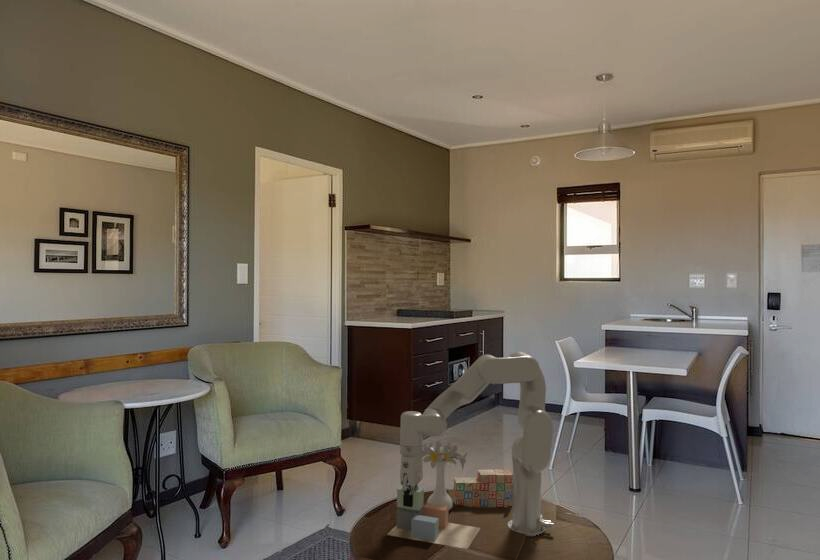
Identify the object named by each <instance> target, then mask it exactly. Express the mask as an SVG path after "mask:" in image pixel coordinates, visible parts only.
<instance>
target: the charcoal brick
mask: <svg viewBox="0 0 820 560" xmlns="http://www.w3.org/2000/svg"><path fill="white" fill-rule="evenodd" d="M415 515H422V516H423V508H421V509H420V510H413V509H407V508H401V507H398V508H397V509H396V525H397V528H399V529H405V530H411V519H412V518H413V517H414V516H415Z"/></svg>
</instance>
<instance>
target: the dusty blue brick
mask: <svg viewBox="0 0 820 560" xmlns="http://www.w3.org/2000/svg"><path fill="white" fill-rule="evenodd" d="M438 537H439V518H434V517H428V516H422V515H415V516H414V517H413V518H412V519H411V538H416V539H422V540H428V541H433V542H435V541H436V539H437V538H438Z"/></svg>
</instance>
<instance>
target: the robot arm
mask: <svg viewBox="0 0 820 560" xmlns="http://www.w3.org/2000/svg"><path fill="white" fill-rule="evenodd" d="M543 373H544V372H543V371H542V370H541V368H540V365H539V362H538V360H537V359H536V358H535V357H533V356H531V355H530V354H528V353H525V352H523V351H515V352H513V353H511V354H510V355H509V356H508V357H496V356H493V355H491V354H483V355H480V356H479V357H478V358H477V359H476V360H475V361H474V362H473V363H472V364H471V366H469V368H467V370H466V371H465V372H464V373H463V374H462V375H461V376H459V378H458V379H457V380H456V381H455V382H454V383H453V384H452V385H450V386H449V387H448V388H447V389H445V390H444V391H443V392H442V393H440V394H439V395H438V396H437V397H436V398H435V399H434V400H433V401H432V402H431V403H430V404H429V405H428V406H427V408H425V409H424V411H423V413H421V412H419V411H414V410H409V411H403V412H402V413H401V415H400V430H399V431H400V433H399V434H400V435H399V440H400V442H399V445H400V446H399V454H400V455H401V459H400V469H399V470H400V474H399V479H400V480H399V481H400V486H401V485H402V491H403V506H407V507H412V506H413V495H412V487H418V488H419V485H418V484H419V483H420V482H421V481H422V480H423V477H424V473H423V472H424V471H423V468H424V467H423V457H422V450H424V444H423V443H424V442H423V440H424V438H423V437H424V436H428V437H435V438H437V437H440V436H442V435H444V433H445V432H446V431H447V426H448V425H447V421H446V420H447V418H448V417H449V416H450V415H451V414H452V413H453V412H454V411H456V410H457V409H458V408H460V407H461V406H464V405H468V404H470V403H472V402H474V401H475V399H477V398H478V397H479V395H481V394H482V392H483V391H484V390H485V389H486V388H487V387H488V386H489V384H491V385H492V384H493V385H497V384H498V385H500V384H502V385H504V384H505V385H506V384H517V383H518V384H519V389H520V392H519V405H518V411H517V412H518V413H517V423H518V426H519V427H520V429H521V430H522V431H523V434H520V435H518V436H517V437H516V438H515V439H514V440H513V443H512V446H511V459H512V463H511V464H512V475H513V491H512V507H511V508H512V509H511V520H510V519H509V521H507V527H508V528H509V529H510V530H511V531H513V532H515V533H519V534H524V535H525V537H537V536H536V535H538V536H540V535H539V534H541V533H543V532H544V531H545V532H546V529H550V530H554V529H555V523H554V522H552V520H550V519H549V520H548V519H545V518H543V514H541V511H542V509H541V507H542V506H541V505H542V472H543V471H544V470H545V469H546V468H547V467H548V465H549V463H550V460H551V459H550V458H551V455H552V454H551V453H552V445H553V433H554V426H553V423H554V422H553V421H552V417H551V416H550V414H549V413H548V412H547V411H546V394H547V393H546V392H547V391H546V390H547V385H546V384H547V383H546V380H545V375H544V374H543ZM407 487H410V490H409V489H408V488H407ZM545 532H544V533H545ZM544 533H543V534H544ZM541 535H542V534H541Z"/></svg>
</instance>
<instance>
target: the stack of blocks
mask: <svg viewBox="0 0 820 560" xmlns="http://www.w3.org/2000/svg"><path fill="white" fill-rule="evenodd" d="M476 472H477V473H476V474H477V475H476V477H453V505H456V506H463V507H468V508H507V507H506V506H512V495H513V472H511V471H510V469H496V468H494V469H477V471H476ZM504 506H505V507H504Z"/></svg>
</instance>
